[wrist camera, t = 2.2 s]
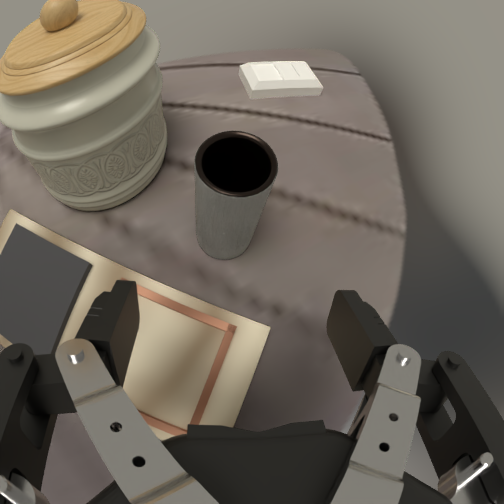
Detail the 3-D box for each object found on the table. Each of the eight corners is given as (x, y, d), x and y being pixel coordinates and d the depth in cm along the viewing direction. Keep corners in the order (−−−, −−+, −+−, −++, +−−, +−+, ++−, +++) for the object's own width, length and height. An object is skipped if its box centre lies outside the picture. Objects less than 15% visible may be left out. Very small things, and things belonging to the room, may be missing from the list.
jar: (162, 100, 30) (156, -47, 13) (177, 198, 26) (162, 9, 10) (53, 126, 27) (3, -1, 10) (44, 228, 23) (-67, 96, 7)
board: (-29, 313, 19) (-40, 310, 17) (16, 214, 23) (7, 206, 21) (218, 455, 20) (219, 463, 18) (267, 328, 24) (272, 326, 22)
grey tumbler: (227, 271, 25) (243, 213, 15) (185, 236, 25) (176, 162, 15) (261, 232, 26) (294, 160, 17) (220, 200, 27) (232, 118, 17)
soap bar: (318, 97, 34) (325, 82, 32) (249, 101, 32) (253, 84, 29) (303, 73, 35) (308, 59, 33) (238, 76, 33) (240, 60, 31)
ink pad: (-19, 315, 18) (-24, 313, 18) (20, 226, 22) (16, 223, 21) (50, 367, 19) (45, 367, 18) (92, 265, 22) (89, 262, 21)
